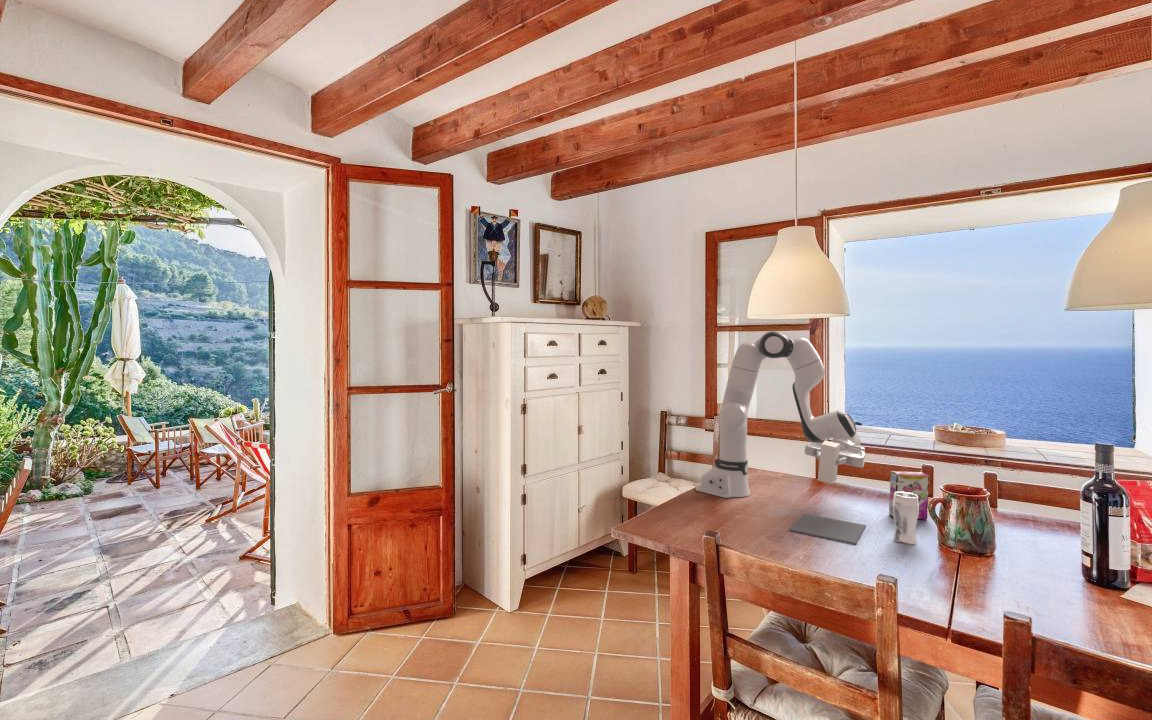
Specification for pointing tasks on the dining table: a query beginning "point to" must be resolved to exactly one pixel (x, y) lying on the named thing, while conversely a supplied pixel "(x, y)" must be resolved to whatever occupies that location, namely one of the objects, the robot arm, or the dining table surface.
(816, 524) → the rubber mat
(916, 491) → the candy bar box
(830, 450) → the white block
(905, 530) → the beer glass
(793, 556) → the dining table surface
